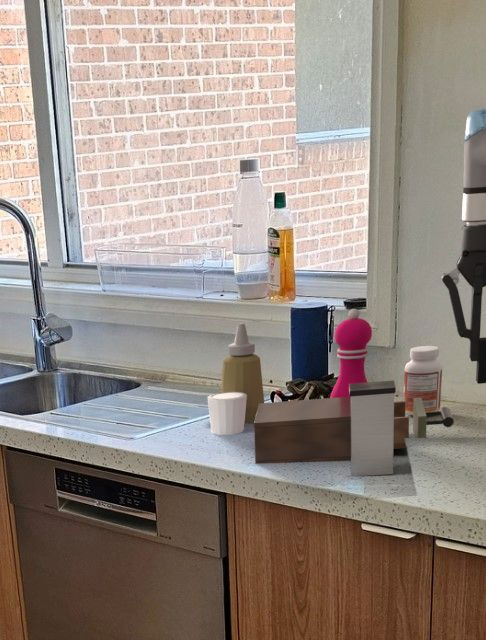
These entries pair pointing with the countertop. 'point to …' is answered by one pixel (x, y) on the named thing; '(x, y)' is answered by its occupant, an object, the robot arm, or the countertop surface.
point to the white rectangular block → (372, 428)
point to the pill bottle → (423, 379)
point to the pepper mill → (351, 352)
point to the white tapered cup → (227, 412)
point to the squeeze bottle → (243, 373)
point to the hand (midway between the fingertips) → (482, 381)
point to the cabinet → (303, 431)
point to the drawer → (416, 421)
